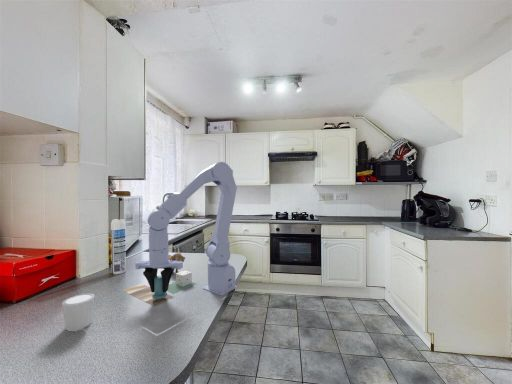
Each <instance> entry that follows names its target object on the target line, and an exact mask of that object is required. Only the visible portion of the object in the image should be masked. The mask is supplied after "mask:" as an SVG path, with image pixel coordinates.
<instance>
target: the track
mask: <svg viewBox="0 0 512 384" xmlns="http://www.w3.org/2000/svg"><path fill="white" fill-rule="evenodd" d="M121 292H124V293H126V294H128V295H129V296H132V297H134V298H137V299H138V300H141V301H142V302H145V303H147V304H149V305H151V306H152V307H156V306H158V305H160V304H162V303H165V302H167V301H169V300H171V299H174V298H175V296H173V295H170V294H169V293H167V296H166V297H165V298H162V299H153V298H152V295H153V294H154V292H151V288H150V286H148V285H145V284H144V283H139V284H137V285H133V286H131V287H127V288H125V289H122V290H121Z"/></svg>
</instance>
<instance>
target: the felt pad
mask: <svg viewBox="0 0 512 384" xmlns="http://www.w3.org/2000/svg"><path fill="white" fill-rule="evenodd" d="M195 285H197V282H194V281H192V283H191V284H188V285H186V286H184V287H182V286H180V285H177V284H176V281H175V282H173V283H169V286H168V290H167V291H166V292H167V293H172V295H174V294H177V293H179V292H181V291H184V290H186V289H188V288H190V287H192V286H195Z"/></svg>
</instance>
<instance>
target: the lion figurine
mask: <svg viewBox="0 0 512 384" xmlns="http://www.w3.org/2000/svg"><path fill="white" fill-rule="evenodd" d="M169 260H172V261H183V263H184V262H185V260H186V257H185V256H183V255H182V253H181V252H177V253H175V254H173V255H171V254H169ZM178 270H179V269H175V270H174V271H175V273H174V272H173V274H172V276H173V275H174V274H176V273H179V272H180V271H178Z"/></svg>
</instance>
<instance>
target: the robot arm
mask: <svg viewBox="0 0 512 384" xmlns="http://www.w3.org/2000/svg"><path fill="white" fill-rule="evenodd" d="M233 174H234V170H233V169H232V167H230V166H229V164H228V163H226V162H224V161H218V162H216V163H214V164H210V165H209V166H207V167H206V168H205V169H203V170H202V171H200V173H198V174H197V175H196V176H195V177H194V178H193V179H192V180H191V181H190V182H189V183H188V184H187V185H186V186H185V187H184V188H183V189H182V190H181V191H180V192H173V193H172V194H171V193H169V194H168V195H167V196H166V199H165V201H163V202H162V203H161V204H160V205H157V206H155V209H156V210H153V211H152V212H150V213H149V215H148V218H147V223H148V225H149V228H148V258H149V259H148V260H142V261H137V262H135V270H141V269H144V270H143V272H142V274H143V276H144V278H145V279H146V280H147V283H148V285H149V287H150V288H151V292H154V277H156V276H158V270H159V269H161V271H160V275H161V276H162V282H163V293H165V292H168V291H167V290H168V286H169V284H170V283H171V279H172V276H173V275H174V274H173V273H174V271H175V270H176V269H178V270H182V269H183V268H184V264H183V263H184V262H183V261H172V260H169V255H170V253H169V233H168V226H169V224H170V220H172V219H174V218H175V217H176V216H177V215H179V213H180V212H181V211H182V210H183V209H184V208H185V207H187V201H188V199H189V198H190V197H192V196H193V195H194V194H195V193H196V192H198V190H199V189H200V188H202V187H203V186H204V185H205V184H209V183H212V184H213V183H214V184H215V185H216V186H217V187H218V189H219V190H220V193H221V194H220V198H219V202H218V208H217V213H216V219H215V224H214V230H213V234H212V235H211V237H210V240H209V243H208V244H207V246H206V248H205V254H206V256H207V257H208V261H207V285H205V286H203V287H202V290H205V291H206V292H207V291H208V292H211V293H213V294H216V295H219V296H224V295H225V294H228V293H229V292H231V291H233V290H235V289H237V288H238V286H237V285H236V282H237V280H236V269H235V267H234V266H233V265H231V264H230V263H229V260H230V258H231V251H230V240H229V234H230V228H231V222H232V216H233V212H234V205H235V200H236V195H237V183H236V181H235V177H234V175H233ZM172 274H173V275H172Z"/></svg>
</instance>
